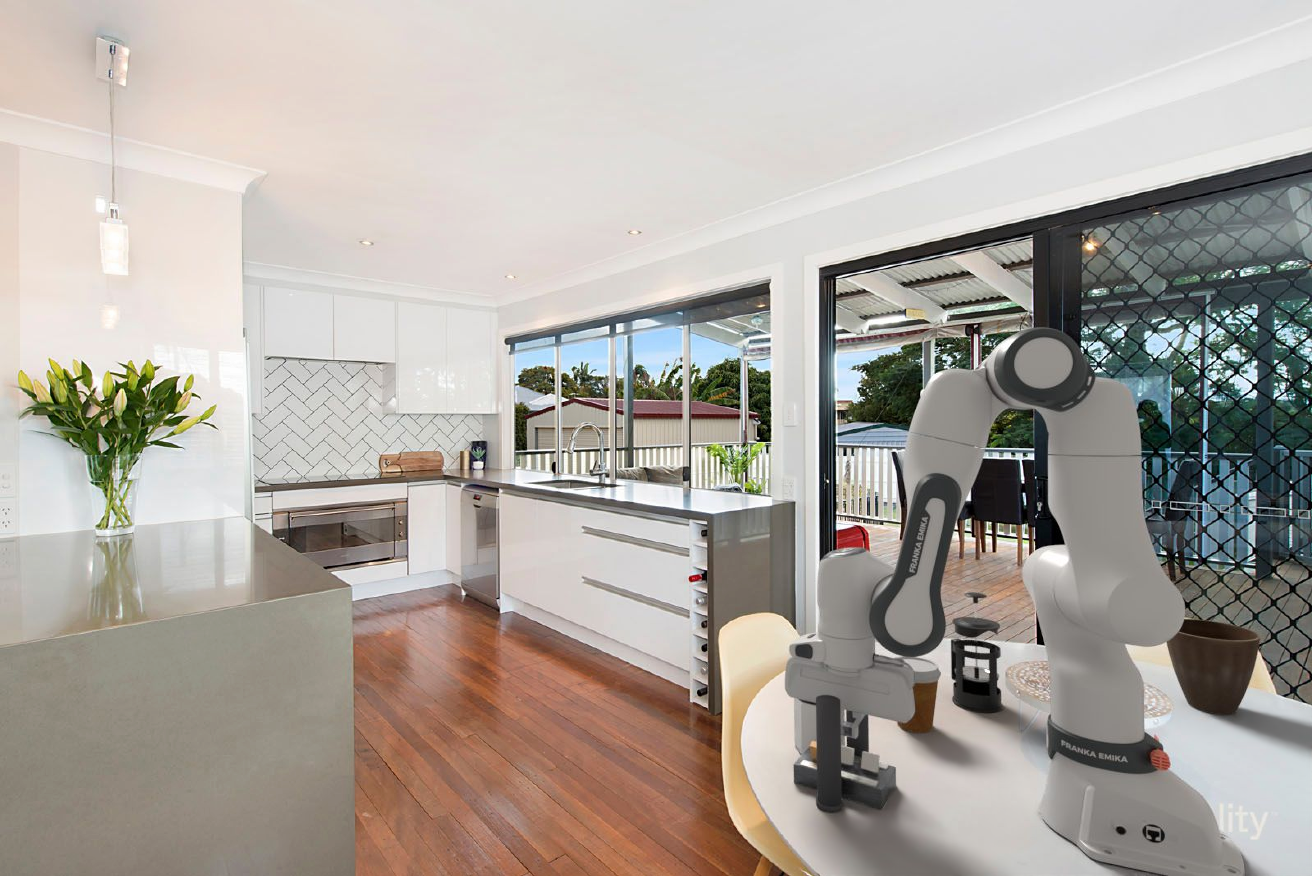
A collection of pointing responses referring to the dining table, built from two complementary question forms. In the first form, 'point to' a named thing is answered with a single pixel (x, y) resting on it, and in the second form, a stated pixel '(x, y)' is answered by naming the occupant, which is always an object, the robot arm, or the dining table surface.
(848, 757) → the white block
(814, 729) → the jar
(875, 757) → the white block
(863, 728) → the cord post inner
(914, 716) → the disposable coffee cup
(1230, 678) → the plant pot
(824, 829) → the dining table surface
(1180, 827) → the robot arm
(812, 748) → the tripped paddle
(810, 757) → the breaker panel
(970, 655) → the french press
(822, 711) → the cord post outer
